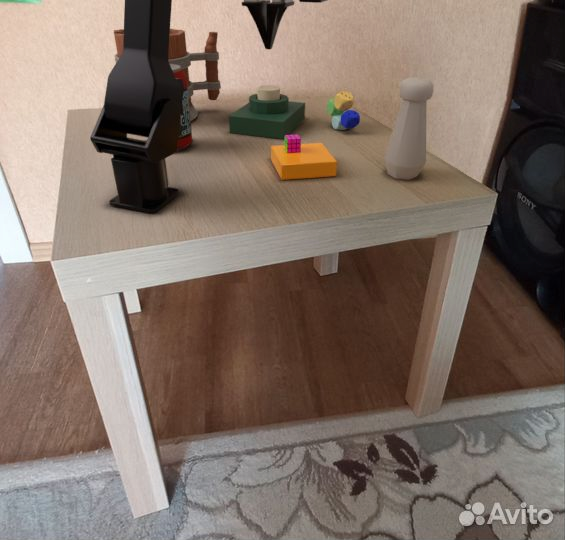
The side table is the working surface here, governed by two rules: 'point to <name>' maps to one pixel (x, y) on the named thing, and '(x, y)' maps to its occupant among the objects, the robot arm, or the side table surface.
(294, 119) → the green base with socket
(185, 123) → the beverage can
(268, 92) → the beige round button
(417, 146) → the salt shaker
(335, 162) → the orange square block
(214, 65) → the mug
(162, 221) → the side table surface
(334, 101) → the dice
